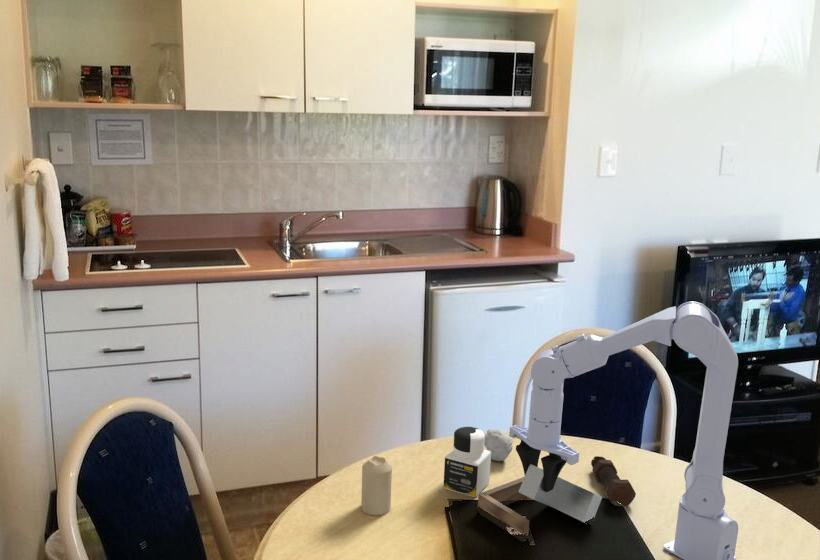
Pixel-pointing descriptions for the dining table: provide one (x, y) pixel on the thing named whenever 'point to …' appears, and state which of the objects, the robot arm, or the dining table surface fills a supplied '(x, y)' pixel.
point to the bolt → (612, 481)
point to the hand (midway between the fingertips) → (539, 485)
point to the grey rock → (498, 444)
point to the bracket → (561, 495)
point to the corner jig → (493, 506)
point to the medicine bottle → (467, 463)
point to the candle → (376, 486)
